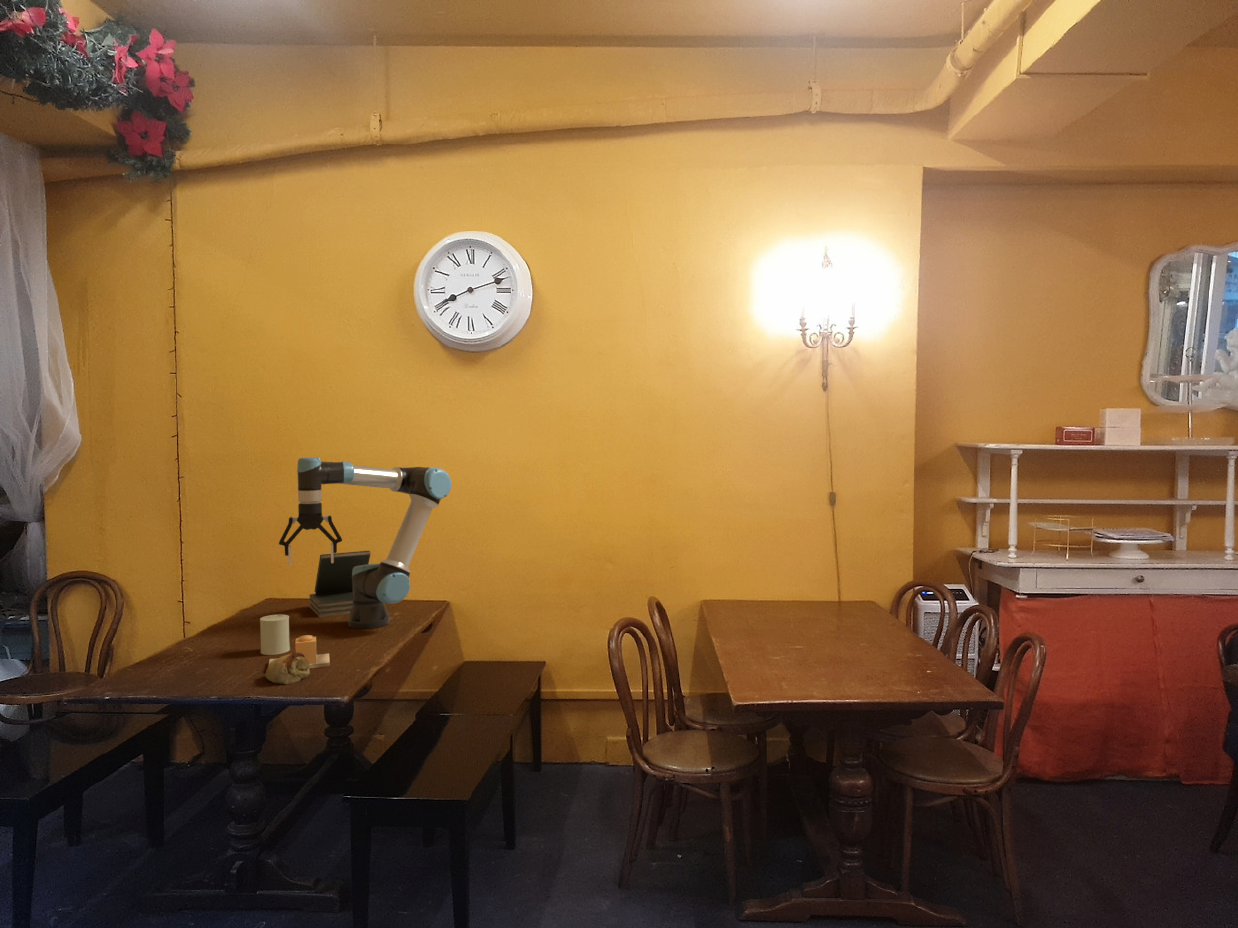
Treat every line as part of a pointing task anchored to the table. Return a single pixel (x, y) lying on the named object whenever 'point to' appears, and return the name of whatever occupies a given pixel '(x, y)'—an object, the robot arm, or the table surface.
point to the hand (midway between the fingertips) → (311, 563)
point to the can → (274, 634)
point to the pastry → (288, 669)
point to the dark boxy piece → (336, 583)
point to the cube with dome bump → (307, 647)
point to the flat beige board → (317, 661)
